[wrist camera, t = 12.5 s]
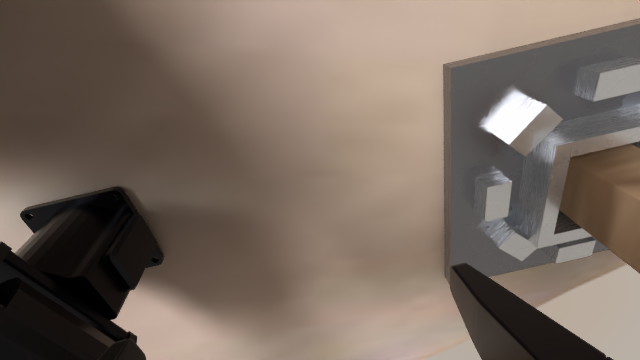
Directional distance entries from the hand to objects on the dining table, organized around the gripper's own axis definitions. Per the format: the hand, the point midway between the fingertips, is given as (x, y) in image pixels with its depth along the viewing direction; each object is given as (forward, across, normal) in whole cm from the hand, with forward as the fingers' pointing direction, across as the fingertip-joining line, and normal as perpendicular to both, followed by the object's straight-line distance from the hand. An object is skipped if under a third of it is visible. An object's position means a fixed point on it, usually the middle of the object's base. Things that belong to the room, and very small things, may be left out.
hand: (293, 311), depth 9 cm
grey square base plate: (+13, -19, +7) cm, 24 cm away
